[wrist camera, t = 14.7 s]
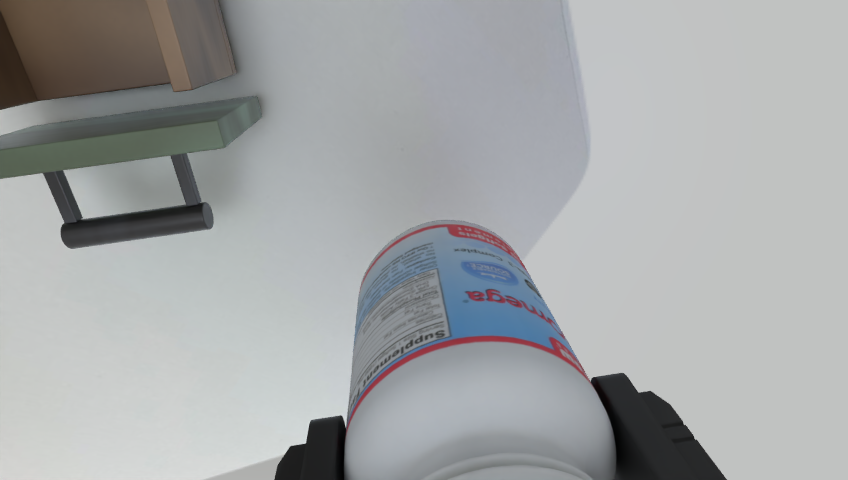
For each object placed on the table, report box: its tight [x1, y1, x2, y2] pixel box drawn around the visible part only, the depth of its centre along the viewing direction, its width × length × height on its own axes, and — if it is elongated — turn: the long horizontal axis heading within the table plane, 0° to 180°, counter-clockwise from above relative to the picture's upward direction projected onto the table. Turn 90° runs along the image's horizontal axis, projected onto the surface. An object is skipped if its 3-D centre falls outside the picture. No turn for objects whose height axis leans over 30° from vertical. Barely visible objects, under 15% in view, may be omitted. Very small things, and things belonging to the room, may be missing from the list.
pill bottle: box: [344, 220, 616, 480], centre depth 13 cm, size 6×6×11 cm
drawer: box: [0, 0, 262, 249], centre depth 23 cm, size 20×12×8 cm, turn 7°
